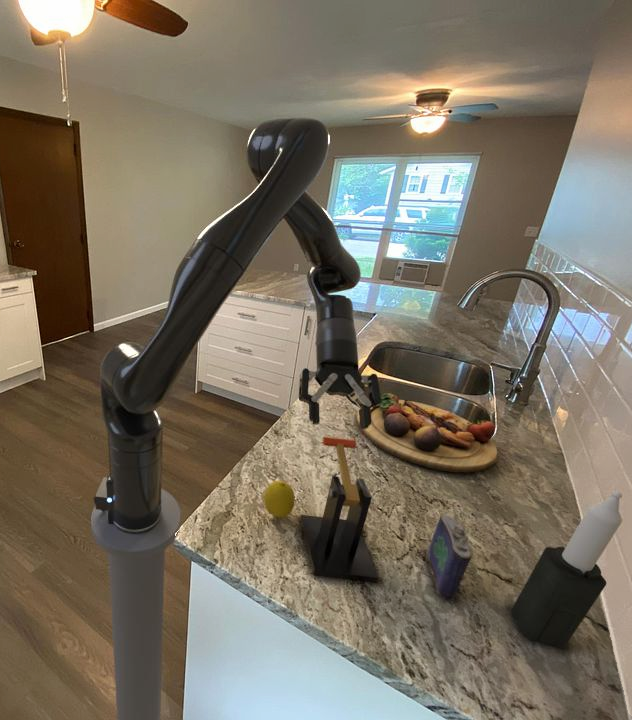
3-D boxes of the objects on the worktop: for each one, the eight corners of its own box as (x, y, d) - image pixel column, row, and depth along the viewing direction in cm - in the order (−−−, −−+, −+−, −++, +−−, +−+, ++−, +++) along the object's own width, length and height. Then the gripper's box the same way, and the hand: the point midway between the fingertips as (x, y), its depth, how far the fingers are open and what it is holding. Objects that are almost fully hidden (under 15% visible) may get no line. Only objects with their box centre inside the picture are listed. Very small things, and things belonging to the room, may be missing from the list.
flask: (423, 550, 68) (441, 503, 64) (442, 555, 67) (462, 508, 63) (438, 598, 60) (460, 547, 56) (459, 604, 59) (484, 553, 55)
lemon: (294, 526, 72) (301, 493, 69) (265, 526, 72) (270, 492, 69) (286, 505, 77) (292, 472, 74) (259, 504, 77) (264, 472, 74)
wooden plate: (490, 428, 107) (500, 402, 104) (502, 494, 82) (516, 463, 79) (365, 395, 123) (371, 372, 120) (344, 443, 98) (350, 414, 95)
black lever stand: (300, 519, 74) (312, 460, 69) (354, 525, 73) (370, 466, 68) (313, 575, 63) (328, 510, 58) (376, 583, 62) (398, 517, 57)
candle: (524, 638, 55) (605, 501, 45) (508, 605, 59) (579, 474, 50) (568, 651, 53) (662, 512, 44) (548, 616, 58) (630, 483, 48)
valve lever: (321, 441, 72) (324, 433, 70) (351, 443, 71) (355, 436, 70) (331, 504, 64) (335, 498, 62) (365, 508, 63) (370, 502, 61)
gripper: (303, 335, 74) (305, 417, 68) (381, 340, 72) (390, 425, 66) (295, 350, 81) (295, 427, 75) (366, 355, 79) (372, 434, 73)
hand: (340, 426), depth 71 cm, fingers open, 8 cm apart
